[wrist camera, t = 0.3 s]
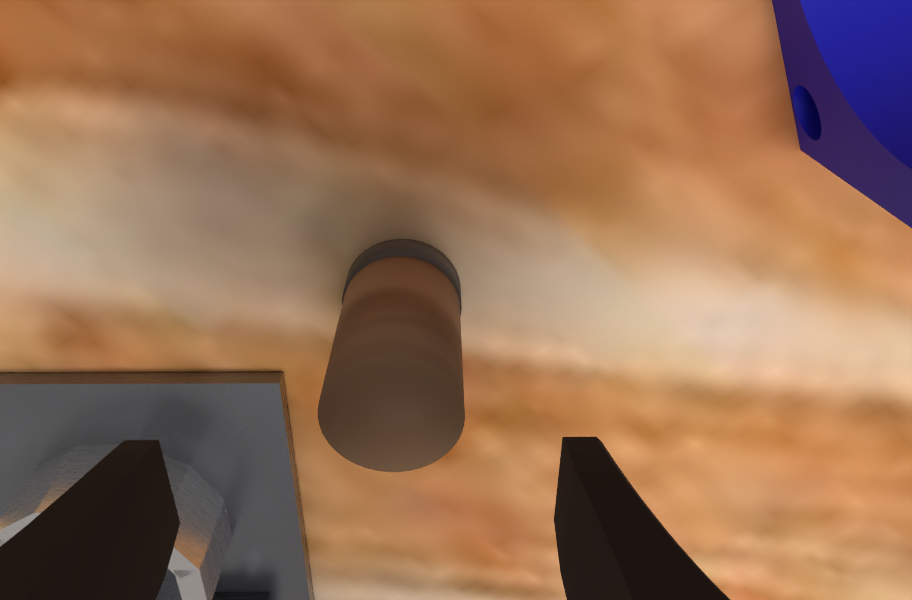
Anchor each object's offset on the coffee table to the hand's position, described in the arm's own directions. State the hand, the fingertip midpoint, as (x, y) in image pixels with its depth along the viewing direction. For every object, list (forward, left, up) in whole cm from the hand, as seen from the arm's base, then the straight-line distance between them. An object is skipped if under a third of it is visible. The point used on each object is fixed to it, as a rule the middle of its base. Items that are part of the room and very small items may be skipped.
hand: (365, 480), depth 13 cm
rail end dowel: (-1, 0, -9) cm, 9 cm away
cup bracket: (-10, +10, -9) cm, 17 cm away
